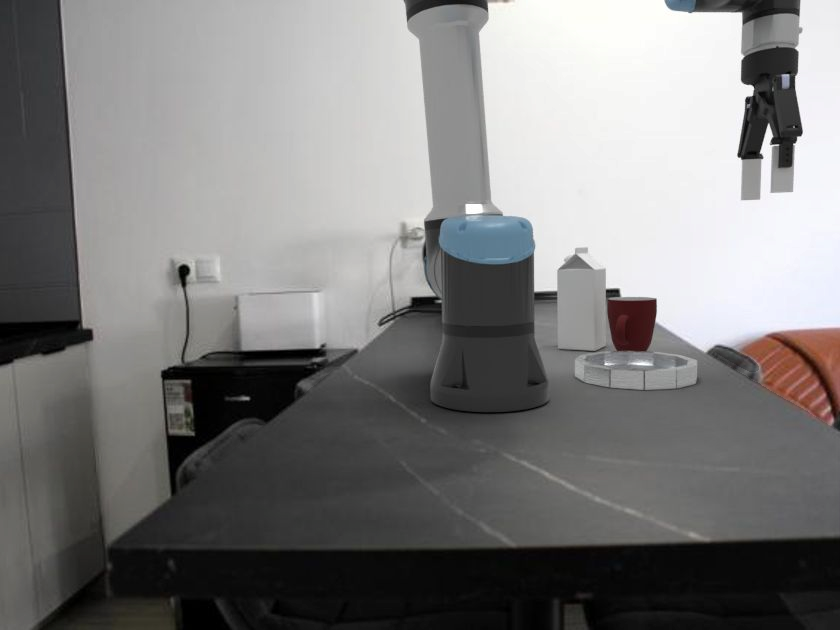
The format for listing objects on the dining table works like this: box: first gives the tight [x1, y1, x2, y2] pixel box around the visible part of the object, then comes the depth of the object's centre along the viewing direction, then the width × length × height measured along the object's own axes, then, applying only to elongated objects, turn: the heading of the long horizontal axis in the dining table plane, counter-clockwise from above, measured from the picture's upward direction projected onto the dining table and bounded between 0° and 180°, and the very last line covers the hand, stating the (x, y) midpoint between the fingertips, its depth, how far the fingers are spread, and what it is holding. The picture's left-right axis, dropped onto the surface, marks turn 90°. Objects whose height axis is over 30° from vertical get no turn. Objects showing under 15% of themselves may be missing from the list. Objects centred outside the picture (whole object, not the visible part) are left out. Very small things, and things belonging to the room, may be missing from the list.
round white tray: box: [574, 350, 698, 391], centre depth 90 cm, size 16×16×2 cm
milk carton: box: [556, 246, 607, 352], centre depth 117 cm, size 7×7×19 cm
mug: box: [606, 296, 658, 352], centre depth 106 cm, size 11×8×10 cm
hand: (764, 196), depth 95 cm, fingers open, 13 cm apart
